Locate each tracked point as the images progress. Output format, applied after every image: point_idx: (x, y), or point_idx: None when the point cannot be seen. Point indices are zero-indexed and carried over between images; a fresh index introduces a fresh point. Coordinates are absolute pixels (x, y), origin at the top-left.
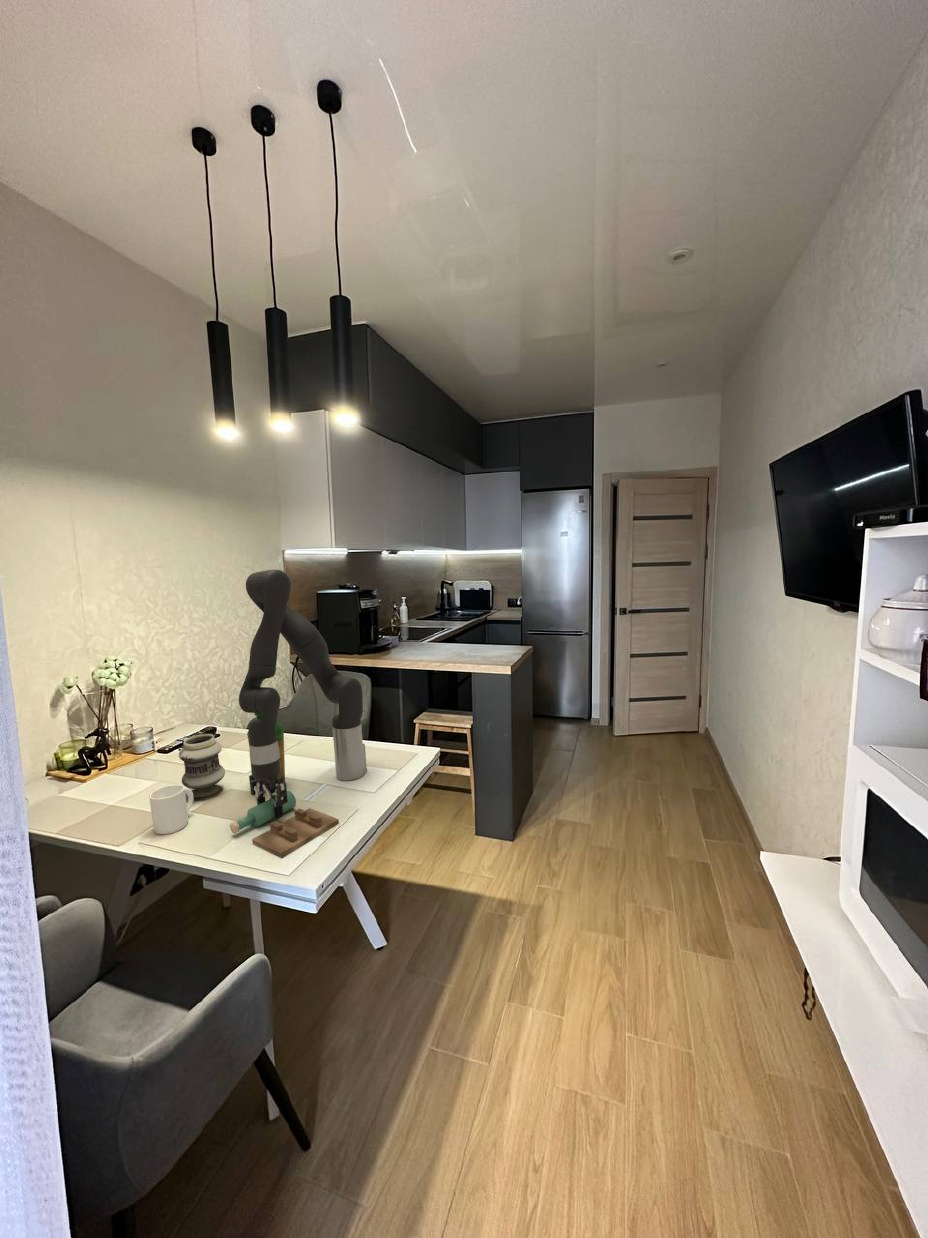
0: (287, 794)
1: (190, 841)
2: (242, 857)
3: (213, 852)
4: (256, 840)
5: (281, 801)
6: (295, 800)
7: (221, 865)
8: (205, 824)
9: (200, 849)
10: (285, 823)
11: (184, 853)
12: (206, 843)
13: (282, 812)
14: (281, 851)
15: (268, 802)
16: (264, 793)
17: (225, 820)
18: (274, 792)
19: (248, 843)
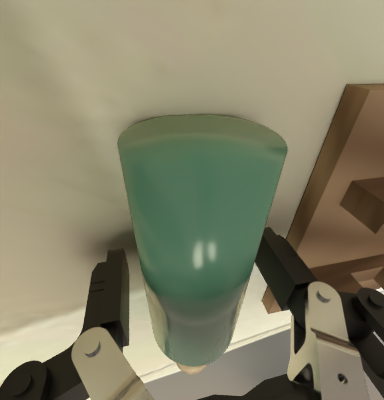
0: (254, 214)
1: None
2: (279, 318)
3: None
4: None
5: (371, 334)
6: (278, 138)
7: (258, 339)
8: (21, 359)
9: (164, 359)
10: (315, 240)
11: (149, 373)
12: (150, 354)
13: (292, 250)
14: (377, 287)
15: (221, 322)
16: (124, 359)
17: (42, 327)
18: (308, 390)
19: (249, 305)
